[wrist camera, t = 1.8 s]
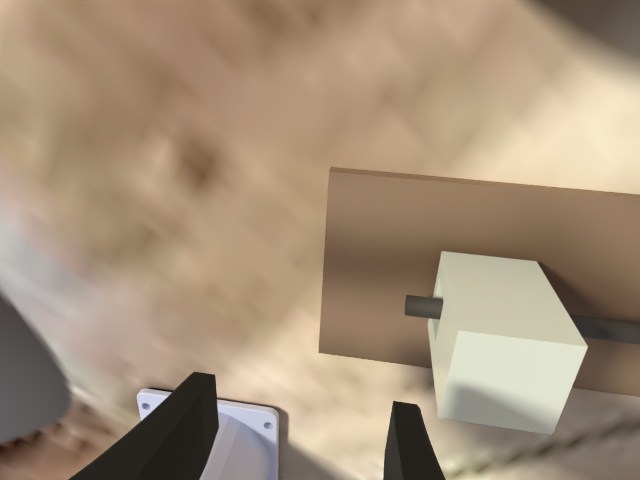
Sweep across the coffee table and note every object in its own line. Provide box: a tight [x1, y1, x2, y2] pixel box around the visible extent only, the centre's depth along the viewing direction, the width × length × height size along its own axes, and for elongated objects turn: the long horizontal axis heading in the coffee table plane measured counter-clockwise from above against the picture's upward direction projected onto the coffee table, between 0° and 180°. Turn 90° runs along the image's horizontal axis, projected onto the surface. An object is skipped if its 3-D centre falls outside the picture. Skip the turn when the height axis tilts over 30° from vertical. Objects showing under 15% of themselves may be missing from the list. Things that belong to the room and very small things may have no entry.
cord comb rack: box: [319, 167, 640, 397], centre depth 16 cm, size 9×20×7 cm, turn 87°
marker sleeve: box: [428, 251, 588, 435], centre depth 16 cm, size 4×4×5 cm
